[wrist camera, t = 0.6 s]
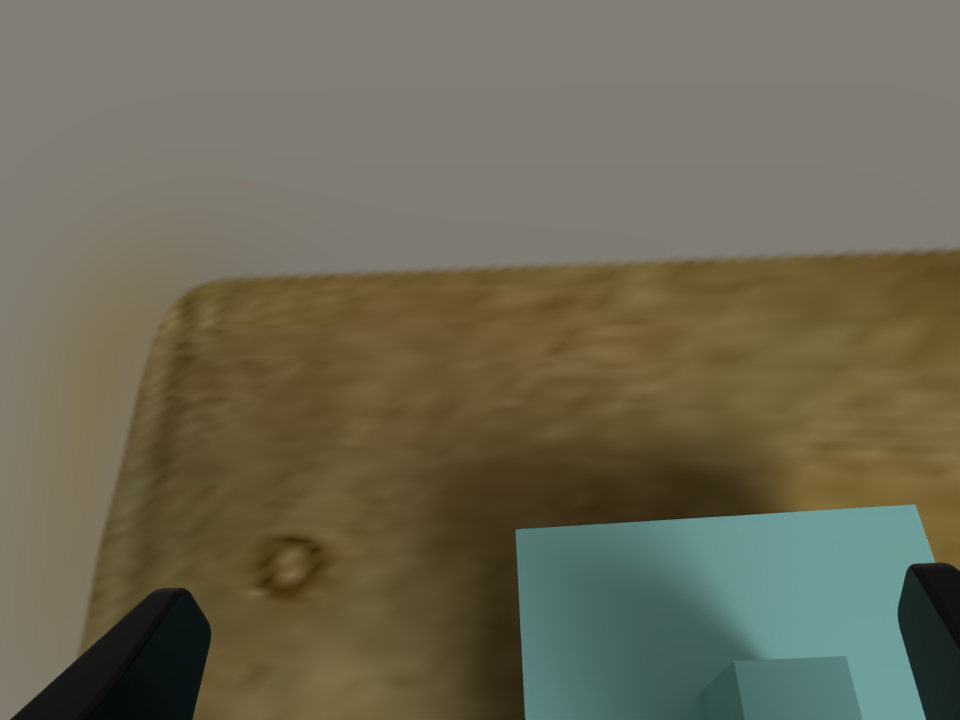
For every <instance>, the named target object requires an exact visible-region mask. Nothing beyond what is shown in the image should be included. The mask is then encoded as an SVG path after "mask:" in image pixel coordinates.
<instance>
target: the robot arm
mask: <svg viewBox="0 0 960 720" xmlns="http://www.w3.org/2000/svg"><path fill="white" fill-rule="evenodd" d="M897 615H898V623H899V628H900V632H901V635H902V639H903V642H904V646H905V649H906V653H907V656H908V660H909V663H910V666H911V670H912V673H913V677H914V680H915V684H916V687H917V691H918V694H919V698H920V701H921V705H922V708H923V712H924V715H925V718H926V720H960V571H959V570H958V569H957V568H955V567H954V566H952V565H950V564H947V563H916V564H912V565H910V566H909V567H908V568H907V571H906V574H905V578H904V582H903V587H902V591H901V595H900V600H899V604H898V611H897ZM210 641H211V628H210V624H209V622H208V620H207V619H206V617H205V615H204V614H203V612H202V610H201V609H200V607H199V606H198V604H197V602H196V601H195V599H194V598H193V596H192V594H191V593H190V592H189V591H188V590H186V589H184V588H162V589H158V590H155V591H154V592H152V593H151V594H149V595H148V596H147V597H146V598H145V599H144V600H143V601H141V602H140V603H139V604H138V605H137V606H136V607H135V608H134V609H133V610H131V611H130V612H129V613H128V614H127V615H126V616H125V617H124V618H123V619H121V620H120V621H119V622H118V623H117V624H116V625H115V626H114V627H113V628H111V629H110V630H109V631H108V632H107V633H106V634H105V635H104V636H103V637H101V638H100V639H99V640H98V641H97V642H96V643H95V644H94V645H93V646H91V647H90V648H89V649H88V650H87V651H86V652H85V653H84V654H83V655H81V656H80V657H79V658H78V659H77V660H76V661H75V662H74V663H73V664H71V665H70V666H69V667H68V668H67V669H66V670H65V671H64V672H63V673H61V674H60V675H59V676H58V677H57V678H56V679H55V680H54V681H53V682H51V683H50V684H49V685H48V686H47V687H46V688H45V689H44V690H43V691H42V692H40V693H39V694H38V695H37V696H36V697H35V698H34V699H33V700H31V702H29V703H28V704H27V705H26V706H25V707H24V708H23V709H21V710H20V711H19V712H18V713H17V714H16V715H15V716H14V717H13V718H12V719H10V720H192V719H193V715H194V710H195V706H196V702H197V697H198V693H199V689H200V685H201V680H202V676H203V672H204V668H205V663H206V659H207V655H208V650H209V646H210Z"/></svg>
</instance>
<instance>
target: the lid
mask: <svg viewBox="0 0 960 720" xmlns="http://www.w3.org/2000/svg"><path fill="white" fill-rule="evenodd" d="M516 549H517V568H518V588H519V608H520V627H521V647H522V667H523V686H524V706H525V720H926V718H925V715H924V712H923V708H922V705H921V701H920V698H919V694H918V691H917V687H916V684H915V680H914V677H913V673H912V670H911V666H910V663H909V660H908V656H907V653H906V649H905V646H904V642H903V639H902V635H901V632H900V628H899V623H898V615H897V611H898V604H899V600H900V595H901V591H902V587H903V582H904V578H905V574H906V571H907V568H908V567H909V566H910V565H912V564H916V563H935V560H934V557H933V554H932V552H931V549H930V546H929V543H928V540H927V537H926V534H925V531H924V528H923V526H922V523H921V520H920V517H919V514H918V511H917V508H916V505H900V506H884V507H868V508H852V509H836V510H820V511H803V512H787V513H771V514H755V515H739V516H723V517H707V518H691V519H675V520H659V521H643V522H627V523H611V524H595V525H579V526H563V527H547V528H531V529H516Z"/></svg>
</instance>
